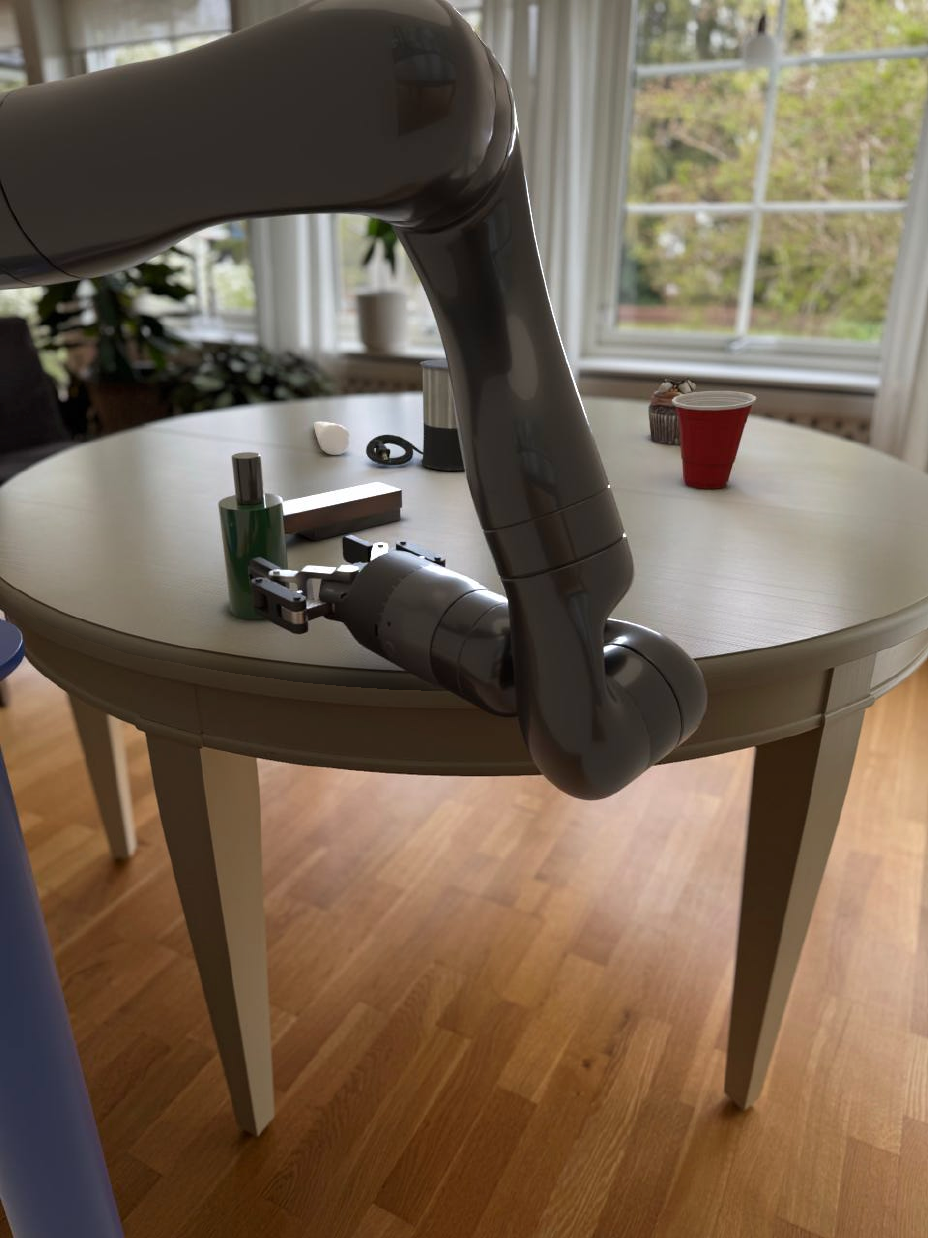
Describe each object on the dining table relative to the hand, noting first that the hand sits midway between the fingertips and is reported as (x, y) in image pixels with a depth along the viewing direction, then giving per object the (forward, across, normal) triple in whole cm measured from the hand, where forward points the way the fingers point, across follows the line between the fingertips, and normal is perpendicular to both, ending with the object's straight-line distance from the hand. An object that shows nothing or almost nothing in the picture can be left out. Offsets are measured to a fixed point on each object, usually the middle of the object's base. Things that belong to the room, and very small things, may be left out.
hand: (301, 558), depth 69 cm
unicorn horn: (+64, -43, +7) cm, 77 cm away
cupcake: (+27, -89, +7) cm, 93 cm away
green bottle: (+8, 0, +7) cm, 11 cm away
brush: (+23, -17, +7) cm, 29 cm away
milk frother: (+41, -46, +7) cm, 62 cm away
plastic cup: (+7, -68, +7) cm, 69 cm away
